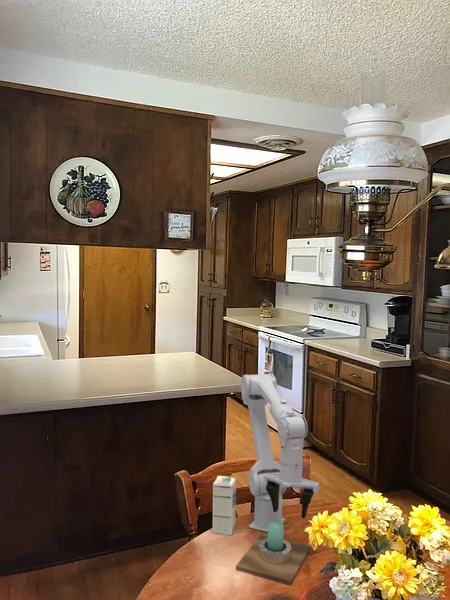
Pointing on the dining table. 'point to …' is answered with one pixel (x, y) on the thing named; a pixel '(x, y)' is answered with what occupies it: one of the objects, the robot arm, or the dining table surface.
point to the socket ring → (275, 553)
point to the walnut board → (274, 571)
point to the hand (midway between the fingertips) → (289, 513)
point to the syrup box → (224, 505)
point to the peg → (275, 536)
